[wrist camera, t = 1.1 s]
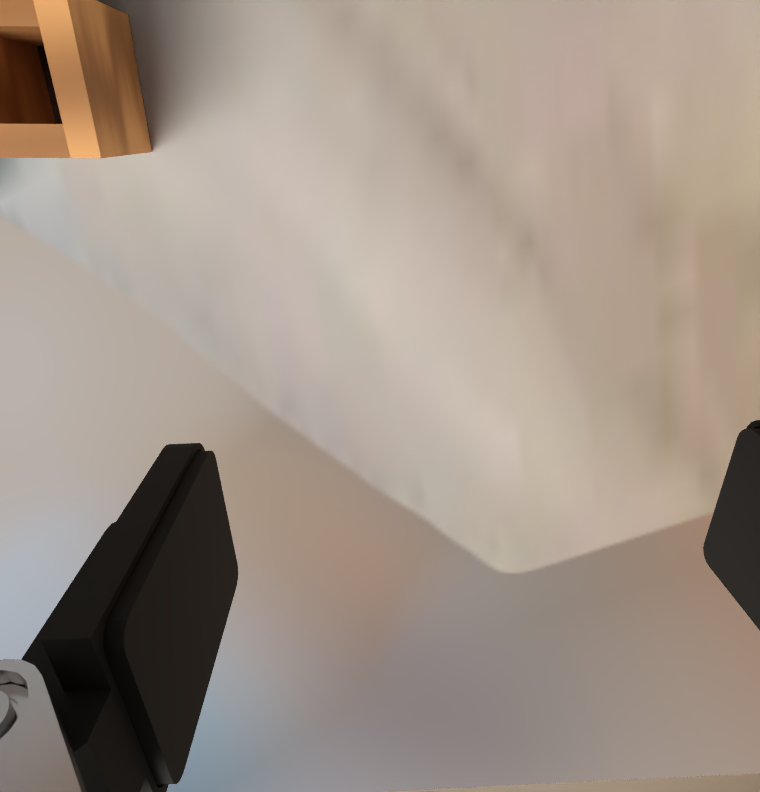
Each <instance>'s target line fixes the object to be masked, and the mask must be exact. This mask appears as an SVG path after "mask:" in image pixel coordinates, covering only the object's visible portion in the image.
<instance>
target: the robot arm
mask: <svg viewBox="0 0 760 792" xmlns="http://www.w3.org/2000/svg"><path fill="white" fill-rule="evenodd" d="M703 549H704V556H705V559H706V562H707V563H708V565H709V567H710V568H711V569H712V570H713V571H714V573H715V574H716V576H717V577H718V578H719V579H720V580H721V582H722V583H723V584H724V586H725V587H726V588H727V589H728V591H729V592H730V593H731V594H732V596H733V597H734V598H735V600H736V601H737V602H738V603H739V605H740V606H741V607H742V608H743V610H744V611H745V612H746V613H747V615H748V616H749V617H750V618H751V620H752V621H753V622H754V624H755V625H756V626H757V627H758V629H759V630H760V420H756V421H754V422H751V423H750V424H749V425H748V426H747V428H746V429H744V430H742V431H741V432H740V433H739V435H738V437H737V440H736V444H735V447H734V450H733V453H732V456H731V460H730V463H729V466H728V469H727V472H726V475H725V479H724V482H723V485H722V488H721V491H720V495H719V498H718V501H717V504H716V507H715V510H714V514H713V517H712V520H711V523H710V527H709V530H708V533H707V536H706V539H705V542H704V547H703ZM237 579H238V565H237V560H236V555H235V550H234V546H233V541H232V536H231V531H230V526H229V521H228V516H227V511H226V506H225V502H224V496H223V491H222V486H221V481H220V477H219V472H218V467H217V462H216V458H215V454H214V453H213V451H205V450H204V447H203V446H202V444H200V443H191V444H169V445H166V446H165V447H164V448H163V450H162V451H161V453H160V454H159V456H158V457H157V459H156V461H155V462H154V464H153V465H152V467H151V468H150V470H149V471H148V473H147V475H146V476H145V478H144V479H143V481H142V483H141V484H140V486H139V487H138V489H137V490H136V492H135V493H134V495H133V496H132V498H131V500H130V501H129V503H128V504H127V506H126V507H125V509H124V510H123V512H122V514H121V515H120V517H119V518H118V520H117V521H116V522H115V523H112V524H111V525H110V526H109V527H108V528H107V530H106V531H105V532H104V534H103V535H102V537H101V539H100V540H99V542H98V543H97V545H96V546H95V548H94V549H93V551H92V552H91V554H90V555H89V557H88V559H87V560H86V562H85V563H84V565H83V566H82V568H81V569H80V571H79V572H78V574H77V575H76V577H75V578H74V580H73V581H72V583H71V584H70V586H69V588H68V589H67V591H66V592H65V594H64V595H63V597H62V598H61V600H60V601H59V603H58V604H57V606H56V608H55V609H54V610H53V612H52V613H51V615H50V617H49V618H48V620H47V621H46V623H45V624H44V626H43V627H42V629H41V630H40V632H39V633H38V635H37V637H36V638H35V639H34V641H33V643H32V644H31V646H30V647H29V649H28V650H27V652H26V653H25V655H24V656H23V658H22V659H21V660H15V659H3V660H0V792H166V791H167V788H168V784H177V783H178V782H179V781H180V779H181V777H182V774H183V772H184V769H185V765H186V762H187V758H188V755H189V751H190V747H191V744H192V740H193V737H194V733H195V730H196V726H197V723H198V719H199V716H200V712H201V709H202V705H203V702H204V698H205V695H206V691H207V687H208V684H209V681H210V677H211V674H212V670H213V667H214V663H215V660H216V656H217V653H218V649H219V646H220V642H221V639H222V635H223V632H224V628H225V625H226V621H227V617H228V614H229V610H230V607H231V604H232V600H233V597H234V593H235V589H236V586H237ZM391 792H760V774H741V775H719V776H700V777H699V776H697V777H674V778H653V779H632V780H610V781H590V782H589V781H588V782H568V783H547V784H526V785H506V786H489V787H469V788H468V787H467V788H448V789H430V790H410V791H391Z"/></svg>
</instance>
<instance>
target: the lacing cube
mask: <svg viewBox="0 0 760 792" xmlns="http://www.w3.org/2000/svg"><path fill="white" fill-rule="evenodd" d="M37 46H44V48H45V52H46V56H47V61H48V65H49V69H50V73H51V77H52V82H53V86H54V90H55V94H56V98H57V103H58V107H59V111H60V115H61V119H62V123H63V124H56V121H55V117H54V113H53V109H52V105H51V101H50V97H49V93H48V89H47V84H46V80H45V76H44V72H43V68H42V64H41V60H40V56H39V52H38V48H37ZM147 152H152V150H151V144H150V138H149V133H148V127H147V121H146V115H145V110H144V104H143V98H142V92H141V87H140V81H139V75H138V69H137V64H136V58H135V52H134V46H133V41H132V35H131V29H130V23H129V18H128V15H127V14H125V13H123V12H121V11H119V10H116V9H114V8H112V7H110V6H108V5H106V4H103V3H101V2H99V1H97V0H0V158H106V157H114V156H122V155H130V154H139V153H147Z"/></svg>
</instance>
